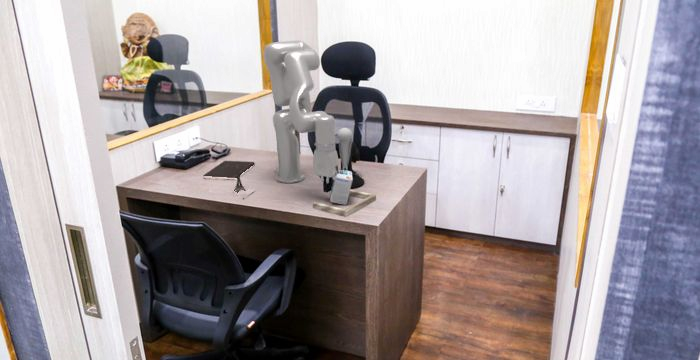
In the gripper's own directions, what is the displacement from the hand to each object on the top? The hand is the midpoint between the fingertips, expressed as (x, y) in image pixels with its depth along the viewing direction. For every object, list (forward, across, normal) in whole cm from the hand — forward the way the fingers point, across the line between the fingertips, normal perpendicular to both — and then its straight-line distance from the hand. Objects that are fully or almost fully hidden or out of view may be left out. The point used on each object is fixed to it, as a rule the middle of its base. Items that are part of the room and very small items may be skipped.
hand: (327, 191), depth 208 cm
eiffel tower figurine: (+5, -36, -13) cm, 39 cm away
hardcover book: (+5, -63, +4) cm, 63 cm away
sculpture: (+4, -7, +24) cm, 25 cm away
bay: (+4, +8, 0) cm, 9 cm away
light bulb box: (+3, +4, +2) cm, 5 cm away
